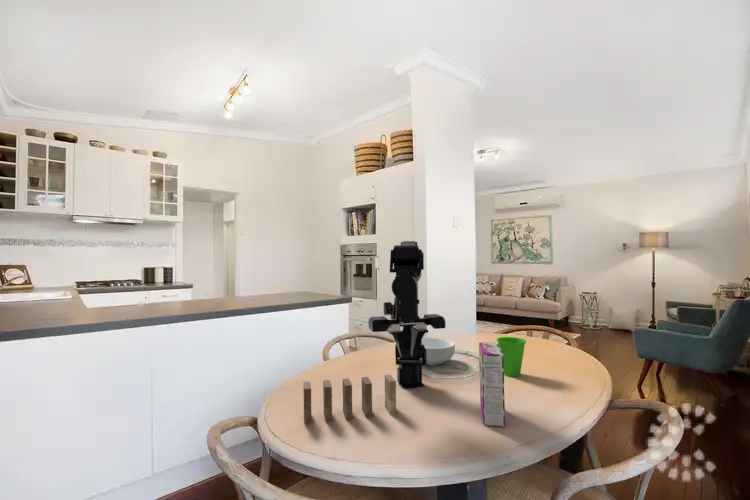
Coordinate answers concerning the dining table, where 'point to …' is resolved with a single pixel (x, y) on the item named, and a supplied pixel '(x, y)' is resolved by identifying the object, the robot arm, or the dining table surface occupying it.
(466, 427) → the dining table surface
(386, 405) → the domino
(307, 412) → the domino
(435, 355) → the cereal bowl
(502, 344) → the cup
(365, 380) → the domino
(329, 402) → the domino
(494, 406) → the candy bar box
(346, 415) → the domino
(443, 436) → the dining table surface
